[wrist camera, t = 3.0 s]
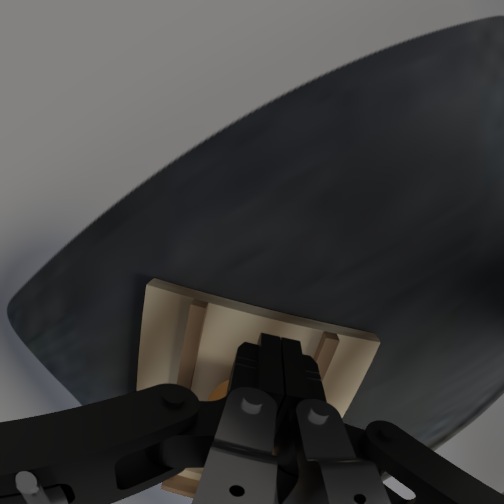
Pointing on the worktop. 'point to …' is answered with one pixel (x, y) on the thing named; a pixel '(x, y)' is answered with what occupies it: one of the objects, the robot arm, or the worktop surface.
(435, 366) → the worktop surface
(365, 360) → the beige tray
